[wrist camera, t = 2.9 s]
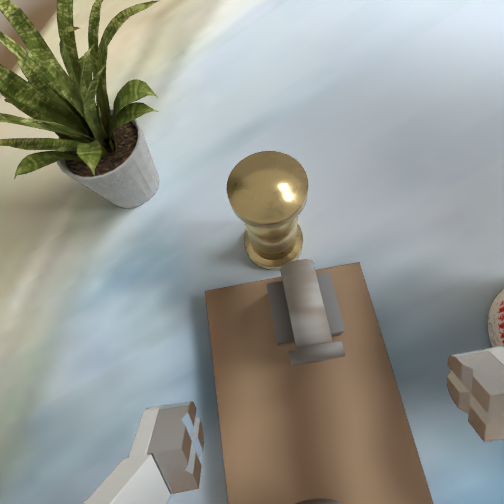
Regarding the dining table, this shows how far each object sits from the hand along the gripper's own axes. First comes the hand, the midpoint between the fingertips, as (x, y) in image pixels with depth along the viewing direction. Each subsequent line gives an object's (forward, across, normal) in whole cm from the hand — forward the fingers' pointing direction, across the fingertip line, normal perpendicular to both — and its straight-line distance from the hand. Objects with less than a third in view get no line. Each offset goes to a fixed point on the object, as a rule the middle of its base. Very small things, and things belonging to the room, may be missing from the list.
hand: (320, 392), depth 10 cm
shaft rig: (+8, 0, +12) cm, 14 cm away
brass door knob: (+18, 0, +2) cm, 18 cm away
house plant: (+25, +11, -5) cm, 27 cm away
